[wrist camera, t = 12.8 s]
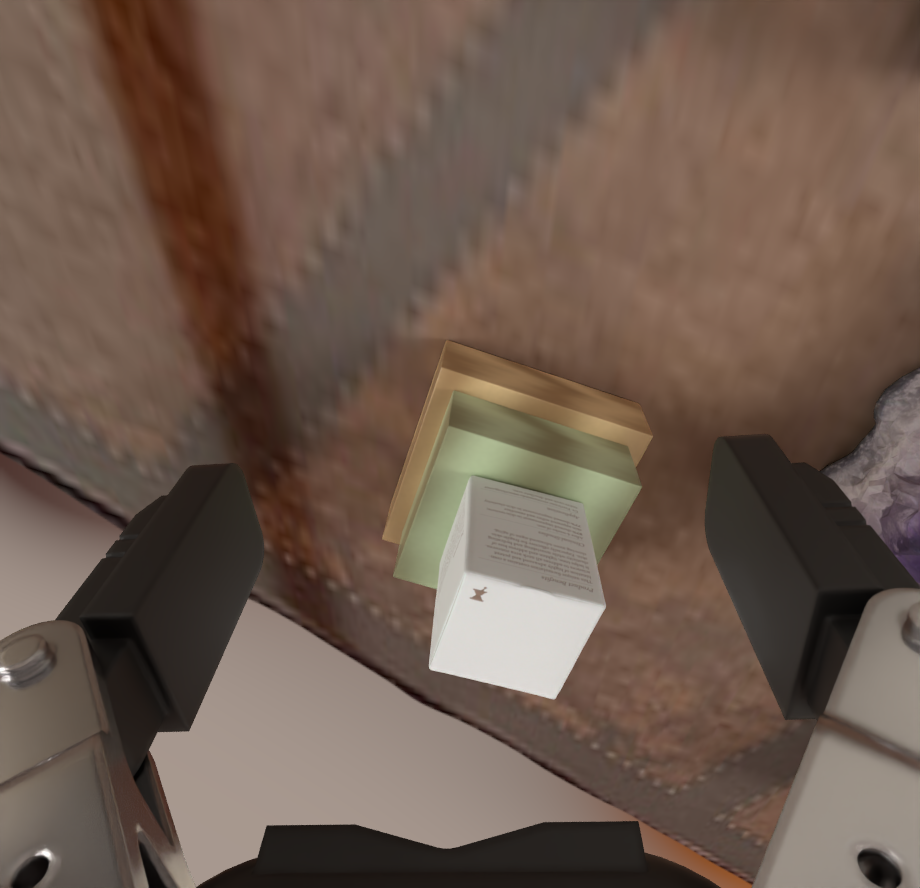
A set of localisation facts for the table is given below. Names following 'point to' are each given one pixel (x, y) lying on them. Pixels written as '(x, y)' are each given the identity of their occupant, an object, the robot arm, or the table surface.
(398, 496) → the block stack
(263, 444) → the table surface
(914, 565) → the geode
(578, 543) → the product box
